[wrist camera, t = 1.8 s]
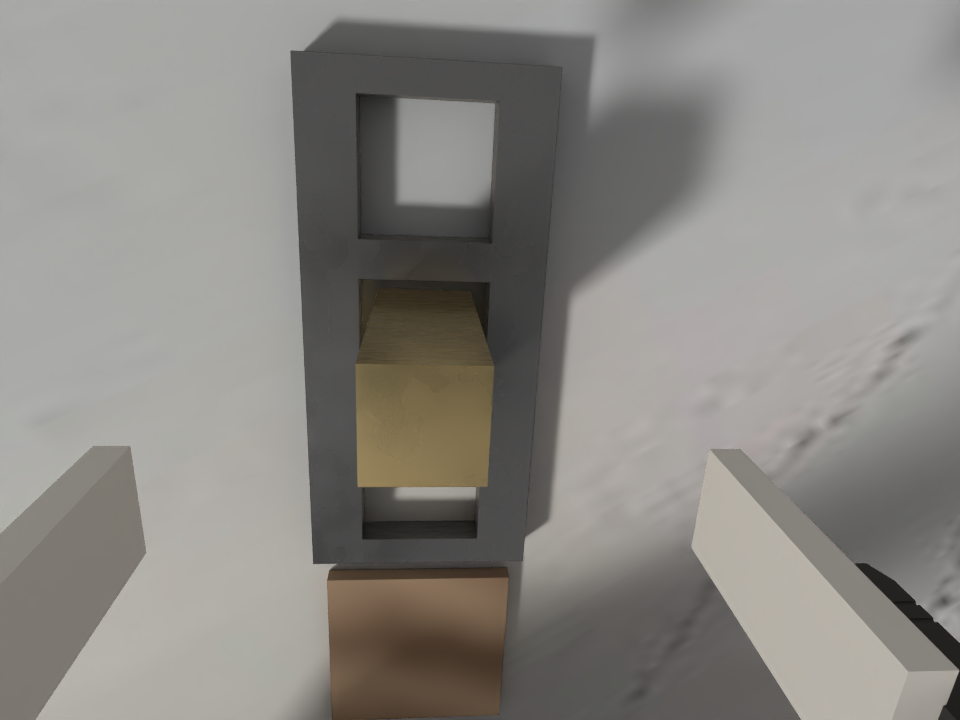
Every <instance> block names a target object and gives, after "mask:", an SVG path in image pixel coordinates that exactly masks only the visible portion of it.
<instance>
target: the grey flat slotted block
mask: <svg viewBox="0 0 960 720" xmlns="http://www.w3.org/2000/svg"><path fill="white" fill-rule="evenodd" d="M291 74H292V96H293V119H294V141H295V164H296V186H297V209H298V231H299V254H300V276H301V299H302V321H303V344H304V366H305V388H306V411H307V433H308V456H309V478H310V501H311V523H312V546H313V564H339V563H409V562H480V561H523V552H524V539H525V527H526V514H527V502H528V489H529V477H530V464H531V452H532V439H533V427H534V414H535V402H536V389H537V377H538V364H539V352H540V339H541V327H542V314H543V302H544V289H545V277H546V264H547V252H548V239H549V227H550V214H551V201H552V189H553V176H554V164H555V151H556V139H557V126H558V114H559V101H560V89H561V76H562V67H552V66H535V65H519V64H503V63H486V62H470V61H453V60H437V59H421V58H404V57H388V56H372V55H355V54H339V53H322V52H306V51H291ZM359 96H375V97H393V98H411V99H429V100H447V101H466V102H484V103H495V122H494V142H493V162H492V182H491V202H490V222H489V238H461V237H432V236H403V235H374V234H361V187H360V112H359ZM362 279H382V280H418V281H454V282H486V302H485V322H484V336H485V339H486V342H487V345H488V348H489V351H490V354H491V357H492V361H493V364H494V379H493V396H492V414H491V432H490V449H489V467H488V485H487V487H476V501H475V521H400V522H365V487H358V481H357V424H356V366H355V364H356V360H357V357H358V354H359V350H360V347H361V344H362V340H363V336H362Z"/></svg>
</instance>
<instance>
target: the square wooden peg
mask: <svg viewBox="0 0 960 720" xmlns="http://www.w3.org/2000/svg"><path fill="white" fill-rule="evenodd" d="M355 366H356V424H357V481H358V487H487V485H488V467H489V449H490V432H491V414H492V396H493V379H494V364H493V361H492V357H491V354H490V351H489V348H488V345H487V342H486V339H485V336H484V332H483V329H482V326H481V323H480V320H479V317H478V314H477V310H476V307H475V304H474V301H473V298H472V295H471V292H470V290H434V289H396V288H378V291H377V294H376V297H375V301H374V304H373V307H372V310H371V314H370V317H369V320H368V324H367V327H366V330H365V334H364V337H363V340H362V344H361V347H360V350H359V354H358V357H357V360H356V364H355Z"/></svg>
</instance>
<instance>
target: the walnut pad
mask: <svg viewBox="0 0 960 720" xmlns="http://www.w3.org/2000/svg"><path fill="white" fill-rule="evenodd" d="M508 583H509V576H508V571H507V568H446V569H381V570H329V574H328V579H327V591H328V618H329V645H330V672H331V700H332V720H371V719H397V718H424V717H451V716H478V715H499V707H500V693H501V680H502V666H503V652H504V638H505V624H506V611H507V597H508Z"/></svg>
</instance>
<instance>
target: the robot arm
mask: <svg viewBox="0 0 960 720" xmlns="http://www.w3.org/2000/svg"><path fill="white" fill-rule="evenodd" d="M691 548H692V549H693V551H694V553H695V554H696V556H697V557H698V559H699V560H700V562H701V563H702V565H703V567H704V568H705V570H706V571H707V573H708V574H709V576H710V578H711V579H712V581H713V582H714V584H715V585H716V587H717V589H718V590H719V592H720V593H721V595H722V596H723V598H724V600H725V601H726V603H727V604H728V606H729V607H730V609H731V610H732V612H733V614H734V615H735V617H736V618H737V620H738V621H739V623H740V625H741V626H742V628H743V629H744V631H745V632H746V634H747V636H748V637H749V639H750V640H751V642H752V643H753V645H754V647H755V648H756V650H757V651H758V653H759V654H760V656H761V657H762V659H763V661H764V662H765V664H766V665H767V667H768V668H769V670H770V672H771V673H772V675H773V676H774V678H775V679H776V681H777V683H778V684H779V686H780V687H781V689H782V690H783V692H784V694H785V695H786V697H787V698H788V700H789V701H790V703H791V704H792V706H793V708H794V709H795V711H796V712H797V714H798V715H799V717H800V719H801V720H960V643H959V642H958V641H957V640H956V639H955V638H954V637H953V636H952V635H950V634H949V633H948V632H947V631H946V630H945V629H944V628H943V627H942V626H941V625H940V624H939V623H938V622H934V621H933V617H932V616H931V615H930V614H929V613H928V612H926V611H925V610H924V609H923V608H922V607H921V606H920V605H916V601H915V600H914V599H913V598H912V597H911V596H910V595H909V594H908V593H907V592H906V591H905V590H904V589H903V588H901V587H900V586H899V585H898V584H897V583H896V582H895V581H894V580H892V579H891V578H889V577H887V576H886V575H884V574H883V573H881V572H879V571H878V570H876V569H874V568H873V567H871V566H870V565H868V564H866V563H861V564H854V563H853V562H852V561H851V560H850V559H849V558H848V557H847V556H846V555H845V554H844V553H843V552H842V551H841V550H840V549H839V548H838V547H837V546H836V545H835V544H834V543H833V542H832V541H831V540H830V539H829V538H828V537H827V536H826V535H825V534H824V533H823V532H822V531H821V530H820V529H819V528H818V527H817V526H816V525H815V524H814V523H813V522H812V521H811V520H810V519H809V518H808V517H807V516H806V515H805V514H804V513H803V512H802V511H801V510H800V509H799V508H798V507H797V506H796V505H795V504H794V503H793V502H792V501H791V500H790V499H789V498H788V497H787V496H786V495H785V494H784V493H783V492H782V491H781V490H780V489H779V488H778V487H777V486H776V485H775V484H774V483H773V482H772V481H771V480H770V479H769V478H768V477H767V476H766V475H765V474H764V473H763V471H762V470H761V469H760V468H759V467H758V466H757V465H756V464H755V463H754V462H753V461H752V460H751V459H750V458H749V457H748V456H747V455H746V454H745V453H744V452H743V451H742V450H741V449H710V450H709V455H708V460H707V466H706V471H705V476H704V482H703V487H702V493H701V498H700V503H699V509H698V514H697V519H696V525H695V530H694V535H693V541H692V546H691ZM145 554H146V548H145V541H144V534H143V528H142V521H141V514H140V508H139V501H138V494H137V488H136V481H135V475H134V468H133V461H132V455H131V448H130V446H93V447H92V448H91V449H90V450H89V451H88V452H86V453H85V454H84V455H83V456H82V457H81V458H80V459H79V460H78V461H77V462H76V463H75V464H74V465H73V466H72V467H71V468H70V469H68V470H67V471H66V472H65V473H64V474H63V475H62V476H61V477H60V478H59V479H58V480H57V481H56V482H55V483H54V484H53V485H52V486H51V487H49V488H48V489H47V490H46V491H45V492H44V493H43V494H42V495H41V496H40V497H39V498H38V499H37V500H36V501H35V502H34V503H33V504H31V505H30V506H29V507H28V508H27V509H26V510H25V511H24V512H23V513H22V514H21V515H20V516H19V517H18V518H17V519H16V520H15V521H14V522H12V523H11V524H10V525H9V526H8V527H7V528H6V529H5V530H4V531H3V532H2V533H1V534H0V720H35V719H36V718H37V716H38V715H39V713H40V712H41V710H42V709H43V707H44V706H45V704H46V703H47V701H48V700H49V698H50V697H51V695H52V694H53V692H54V691H55V689H56V688H57V686H58V685H59V683H60V682H61V680H62V679H63V677H64V676H65V674H66V673H67V671H68V670H69V668H70V667H71V665H72V664H73V662H74V661H75V659H76V658H77V656H78V655H79V653H80V652H81V650H82V649H83V647H84V646H85V644H86V643H87V641H88V640H89V638H90V637H91V635H92V634H93V632H94V630H95V629H96V627H97V626H98V624H99V623H100V621H101V620H102V618H103V617H104V615H105V614H106V612H107V611H108V609H109V608H110V606H111V605H112V603H113V602H114V600H115V599H116V597H117V596H118V594H119V593H120V591H121V590H122V588H123V587H124V585H125V584H126V582H127V581H128V579H129V578H130V576H131V575H132V573H133V572H134V570H135V569H136V567H137V566H138V564H139V563H140V561H141V560H142V558H143V557H144V555H145Z"/></svg>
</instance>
